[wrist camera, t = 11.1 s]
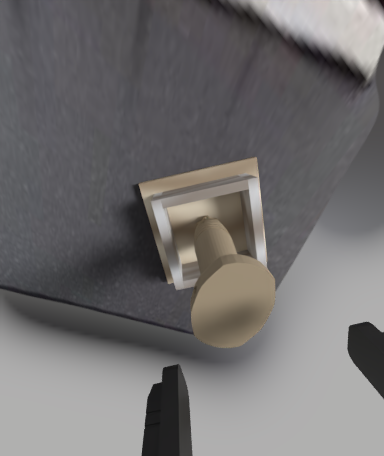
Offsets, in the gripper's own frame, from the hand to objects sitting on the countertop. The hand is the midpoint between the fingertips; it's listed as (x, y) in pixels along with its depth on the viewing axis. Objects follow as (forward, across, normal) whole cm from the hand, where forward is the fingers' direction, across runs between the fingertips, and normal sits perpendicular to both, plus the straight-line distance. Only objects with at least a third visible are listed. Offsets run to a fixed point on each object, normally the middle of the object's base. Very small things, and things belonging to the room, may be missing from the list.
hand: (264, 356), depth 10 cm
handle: (+19, 0, 0) cm, 19 cm away
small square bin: (+20, 0, 0) cm, 20 cm away
